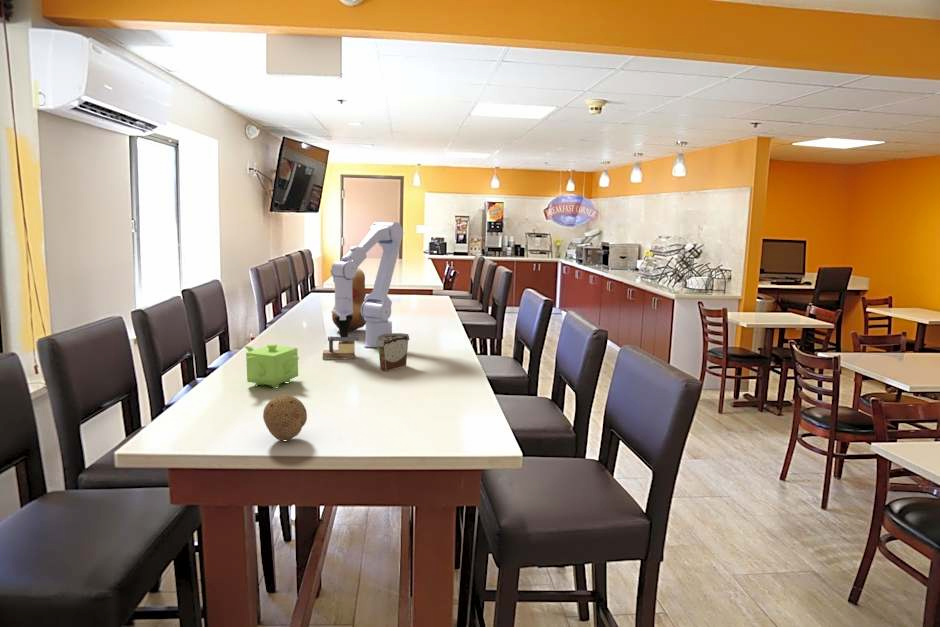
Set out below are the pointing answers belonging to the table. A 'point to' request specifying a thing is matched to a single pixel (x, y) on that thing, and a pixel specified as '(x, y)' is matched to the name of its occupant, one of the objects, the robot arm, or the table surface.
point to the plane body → (336, 353)
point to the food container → (392, 350)
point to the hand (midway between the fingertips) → (344, 337)
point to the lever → (343, 338)
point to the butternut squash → (356, 301)
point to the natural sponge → (284, 417)
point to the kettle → (271, 364)
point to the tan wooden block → (346, 347)
